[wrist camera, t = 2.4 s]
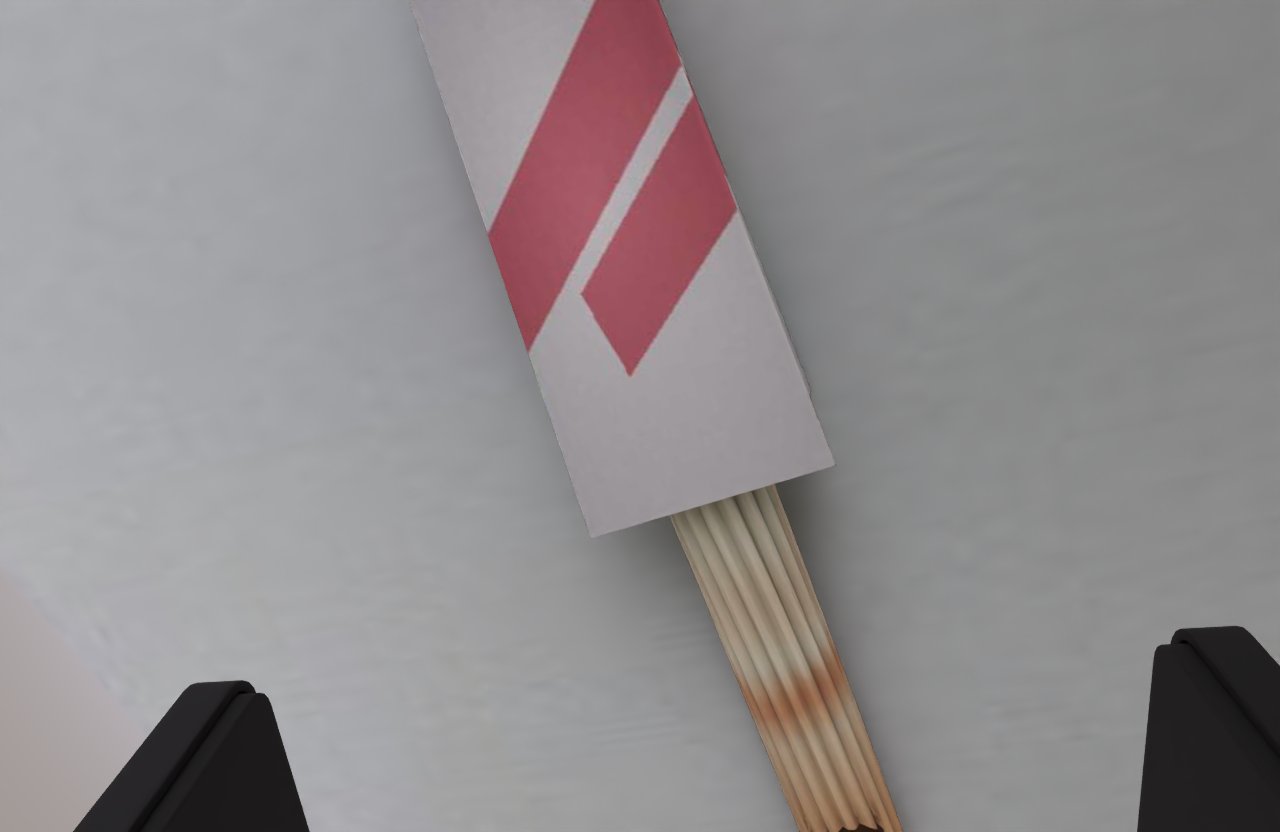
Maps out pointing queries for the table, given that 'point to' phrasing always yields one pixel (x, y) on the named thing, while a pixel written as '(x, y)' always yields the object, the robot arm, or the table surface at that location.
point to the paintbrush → (658, 343)
